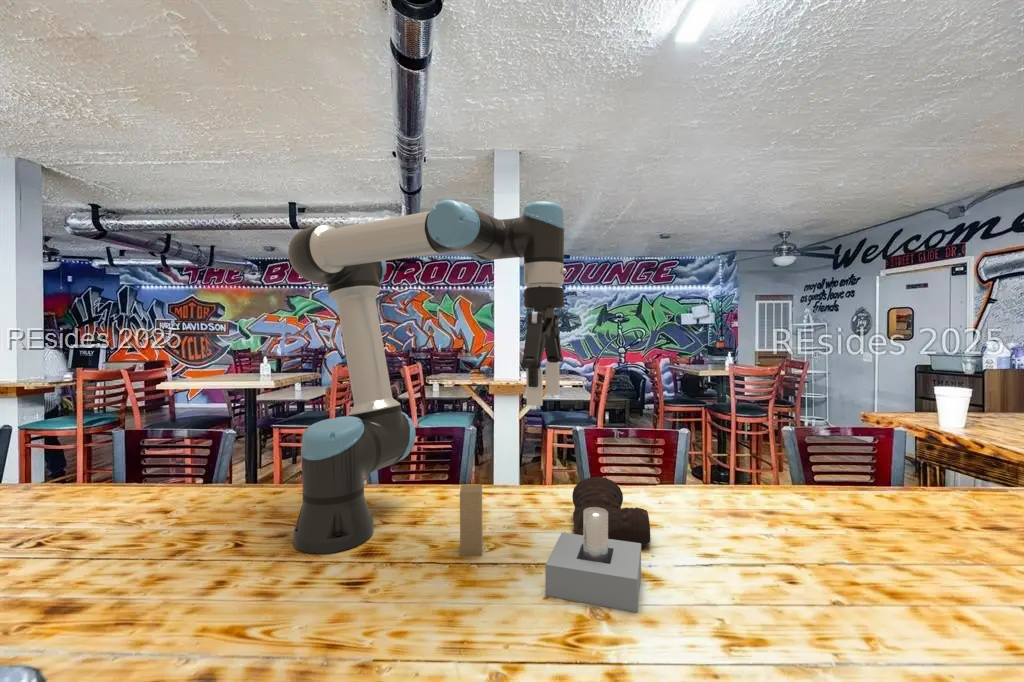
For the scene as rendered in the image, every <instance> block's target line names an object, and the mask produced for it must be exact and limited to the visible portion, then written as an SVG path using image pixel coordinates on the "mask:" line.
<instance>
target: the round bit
mask: <svg viewBox="0 0 1024 682" xmlns="http://www.w3.org/2000/svg"><path fill="white" fill-rule="evenodd" d="M583 560H588V561H594V562H601V563H607V564H608V511H607V510H605V509H603V508H599V507H589V508H586V509H584V511H583Z"/></svg>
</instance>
